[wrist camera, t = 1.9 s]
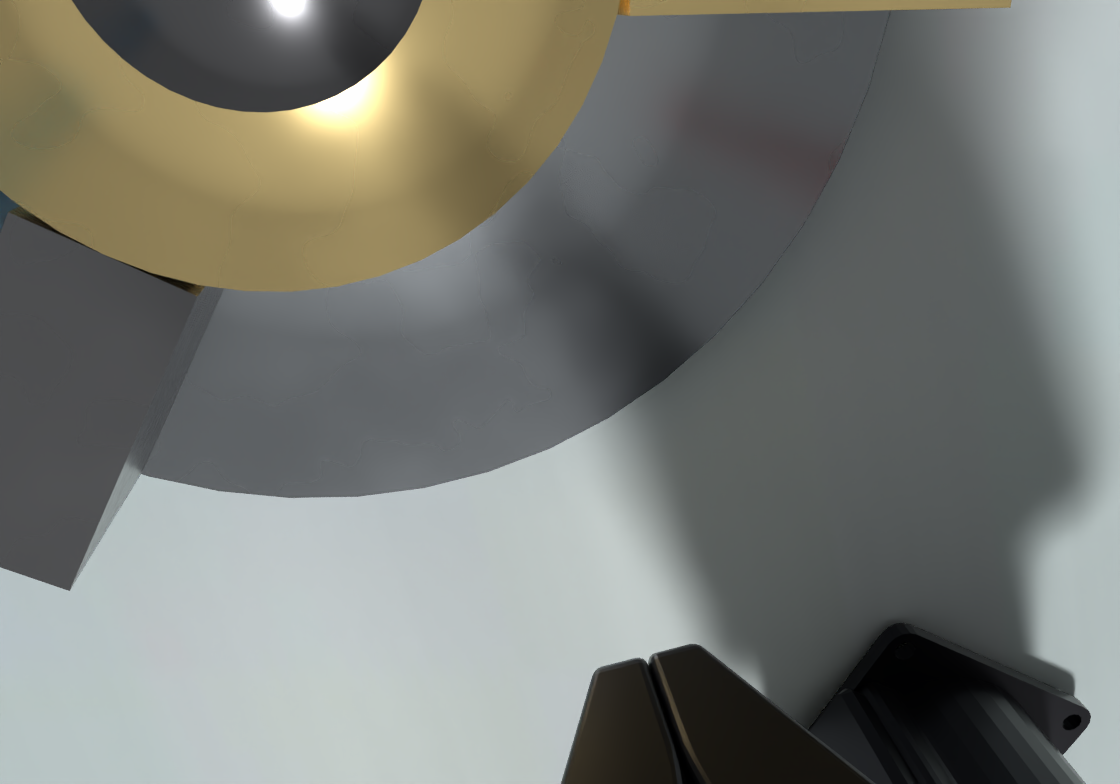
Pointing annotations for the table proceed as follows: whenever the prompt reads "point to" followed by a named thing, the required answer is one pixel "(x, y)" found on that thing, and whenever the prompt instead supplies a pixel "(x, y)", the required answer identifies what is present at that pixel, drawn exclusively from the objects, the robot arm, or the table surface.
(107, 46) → the ring nut
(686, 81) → the flange plate
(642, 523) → the table surface
